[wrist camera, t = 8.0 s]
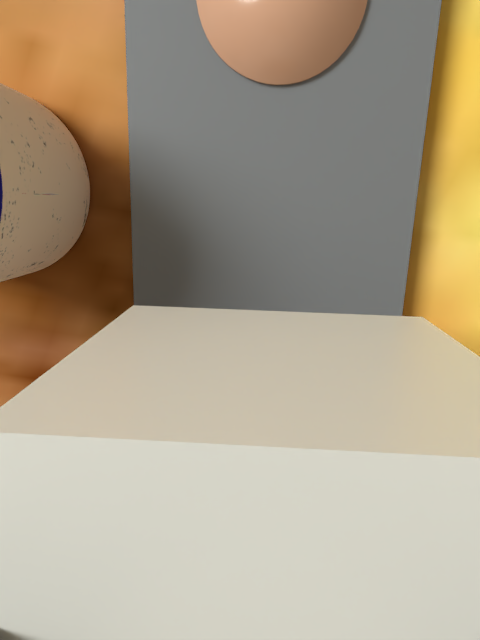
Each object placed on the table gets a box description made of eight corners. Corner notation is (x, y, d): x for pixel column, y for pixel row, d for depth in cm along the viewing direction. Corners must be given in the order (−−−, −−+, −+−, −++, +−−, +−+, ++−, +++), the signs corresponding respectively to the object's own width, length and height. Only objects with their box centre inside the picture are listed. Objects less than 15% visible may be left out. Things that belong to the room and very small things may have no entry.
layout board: (144, 464, 25) (138, 479, 24) (126, -199, 18) (115, -232, 16) (374, 476, 25) (381, 492, 24) (456, -199, 17) (472, -233, 16)
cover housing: (140, 544, 18) (27, 859, 9) (133, 305, 16) (-31, 431, 7) (389, 560, 18) (511, 903, 9) (422, 316, 15) (637, 466, 6)
